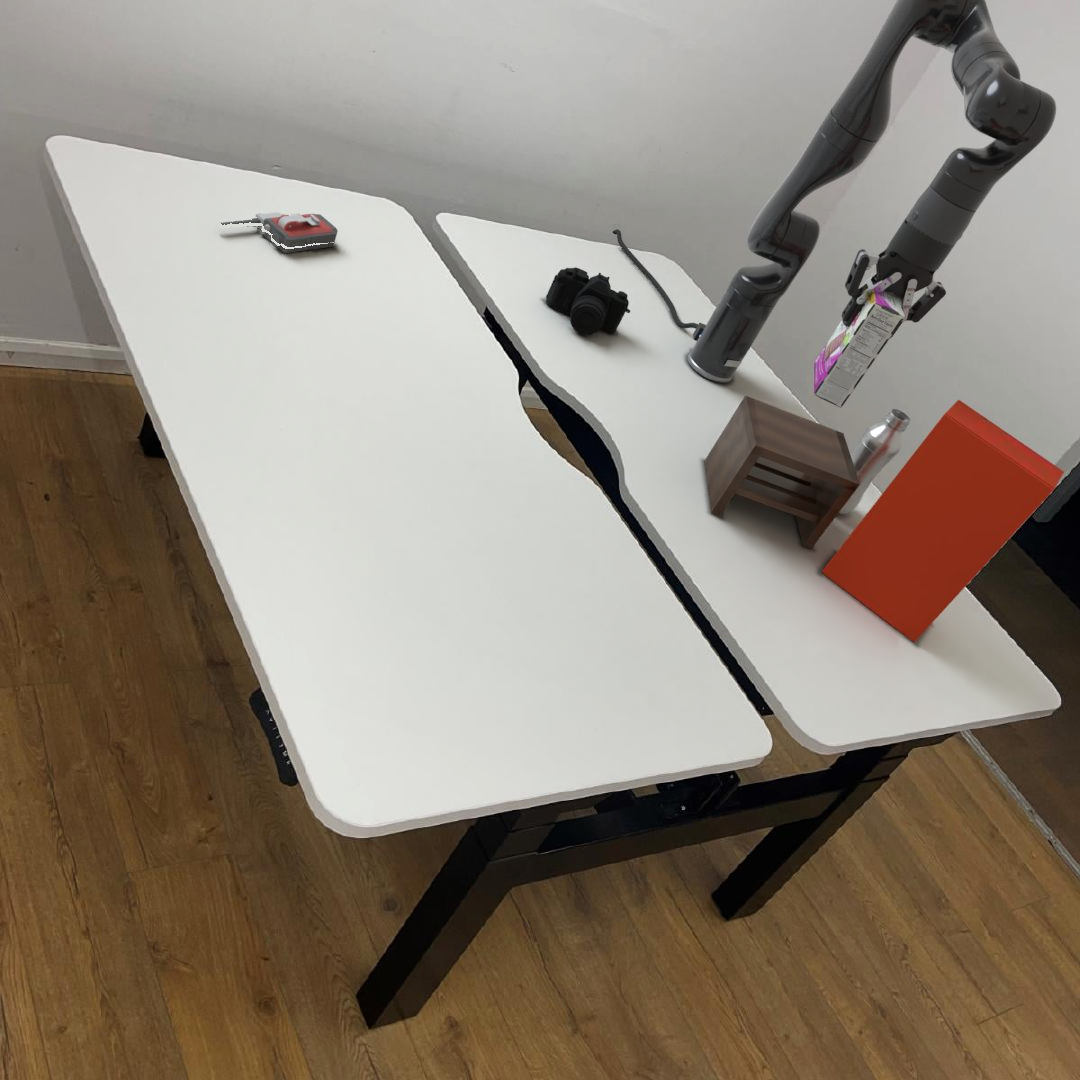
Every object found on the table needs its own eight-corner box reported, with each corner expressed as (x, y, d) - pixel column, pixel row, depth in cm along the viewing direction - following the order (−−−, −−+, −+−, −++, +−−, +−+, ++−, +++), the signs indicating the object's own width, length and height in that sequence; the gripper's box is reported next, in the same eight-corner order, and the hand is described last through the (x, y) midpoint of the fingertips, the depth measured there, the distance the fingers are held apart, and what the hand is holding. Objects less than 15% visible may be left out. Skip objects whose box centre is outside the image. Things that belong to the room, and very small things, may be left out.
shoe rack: (703, 461, 175) (745, 395, 166) (798, 496, 178) (843, 433, 170) (710, 513, 164) (755, 445, 155) (811, 549, 168) (860, 484, 159)
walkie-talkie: (309, 219, 183) (213, 229, 168) (315, 196, 180) (218, 205, 165) (341, 247, 180) (247, 260, 165) (348, 224, 177) (252, 235, 163)
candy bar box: (811, 361, 162) (871, 270, 152) (839, 376, 163) (902, 286, 153) (811, 395, 153) (875, 300, 143) (841, 409, 154) (907, 316, 144)
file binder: (913, 644, 159) (1054, 489, 140) (820, 573, 163) (944, 413, 144) (927, 622, 165) (1064, 470, 146) (837, 554, 169) (959, 398, 150)
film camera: (537, 317, 189) (556, 274, 184) (546, 295, 197) (564, 253, 191) (613, 351, 191) (634, 310, 185) (619, 329, 198) (639, 288, 193)
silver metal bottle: (809, 492, 181) (875, 401, 169) (837, 493, 184) (903, 404, 172) (828, 518, 177) (897, 426, 165) (857, 519, 180) (926, 429, 168)
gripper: (970, 236, 146) (899, 336, 156) (881, 196, 143) (815, 301, 153) (985, 259, 140) (911, 361, 151) (893, 218, 137) (824, 325, 148)
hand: (863, 330), depth 152 cm, fingers closed on candy bar box, 5 cm apart
